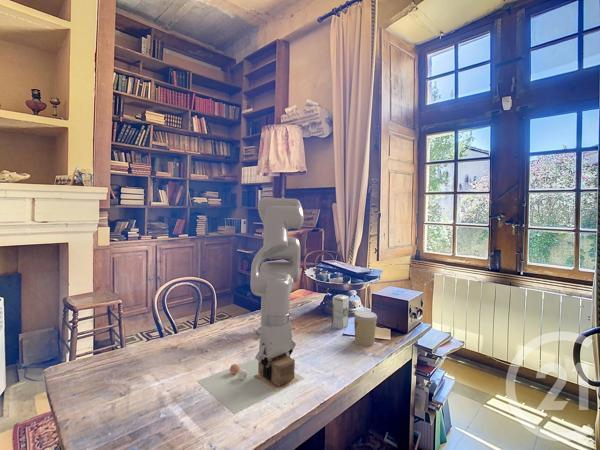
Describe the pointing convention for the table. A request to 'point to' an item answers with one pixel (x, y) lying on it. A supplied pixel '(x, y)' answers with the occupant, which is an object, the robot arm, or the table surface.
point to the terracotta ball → (234, 369)
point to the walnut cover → (280, 369)
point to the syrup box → (340, 311)
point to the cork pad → (271, 384)
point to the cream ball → (242, 374)
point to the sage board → (239, 387)
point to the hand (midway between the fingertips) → (276, 373)
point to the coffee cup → (365, 327)
